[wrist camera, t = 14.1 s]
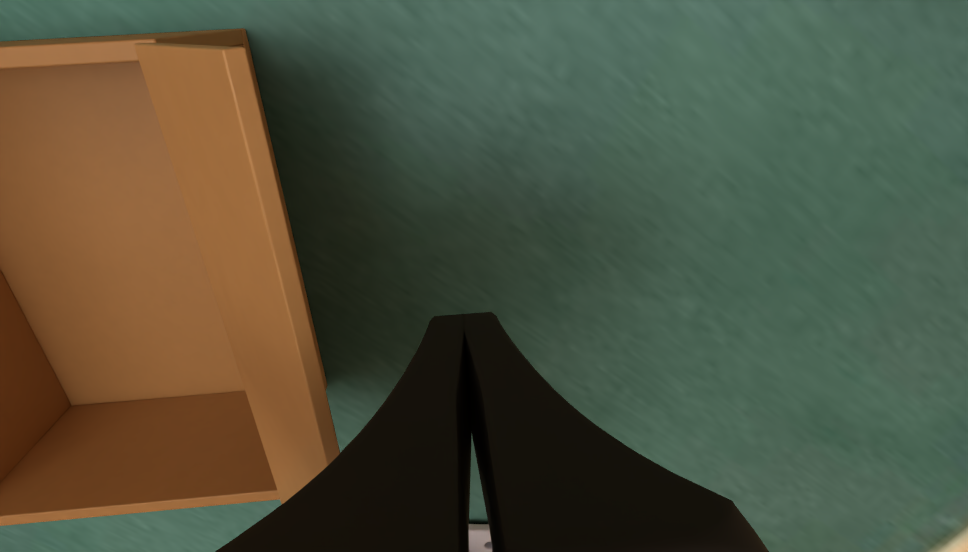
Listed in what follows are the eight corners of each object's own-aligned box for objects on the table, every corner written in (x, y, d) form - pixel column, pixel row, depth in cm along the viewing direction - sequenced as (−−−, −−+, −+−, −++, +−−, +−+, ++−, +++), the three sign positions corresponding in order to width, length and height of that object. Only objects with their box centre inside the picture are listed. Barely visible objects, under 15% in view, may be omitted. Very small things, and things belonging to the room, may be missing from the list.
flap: (133, 44, 10) (151, 42, 10) (286, 517, 15) (295, 511, 16) (222, 49, 6) (245, 46, 7) (372, 643, 12) (383, 634, 12)
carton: (245, 28, 15) (154, 37, 10) (327, 385, 21) (294, 498, 16) (-116, 47, 15) (-389, 68, 10) (72, 407, 20) (-41, 530, 16)
